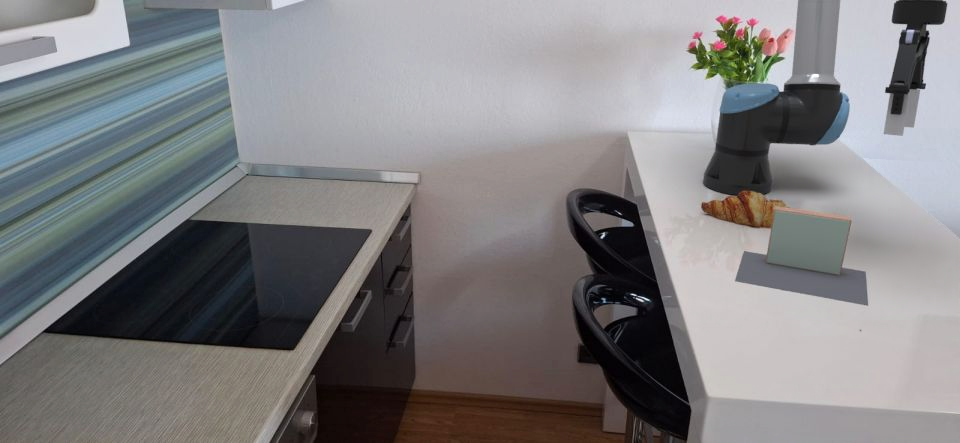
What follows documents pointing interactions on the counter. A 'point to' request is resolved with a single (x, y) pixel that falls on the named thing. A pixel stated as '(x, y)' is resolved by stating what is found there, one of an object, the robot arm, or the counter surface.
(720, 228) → the counter surface
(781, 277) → the mat
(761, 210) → the croissant
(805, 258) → the block
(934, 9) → the robot arm
